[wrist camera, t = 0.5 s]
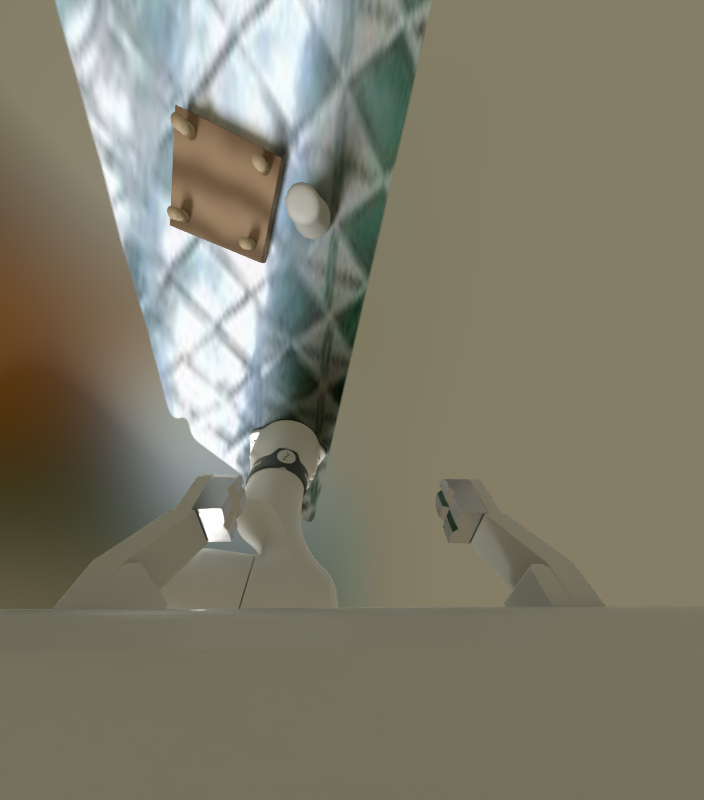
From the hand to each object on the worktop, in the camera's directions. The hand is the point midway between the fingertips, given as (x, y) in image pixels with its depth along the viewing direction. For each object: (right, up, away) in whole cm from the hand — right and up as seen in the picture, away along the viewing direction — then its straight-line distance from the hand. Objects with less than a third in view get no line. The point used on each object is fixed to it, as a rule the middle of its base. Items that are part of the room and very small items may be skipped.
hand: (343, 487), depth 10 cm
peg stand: (-19, +35, +29) cm, 49 cm away
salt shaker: (-6, +33, +31) cm, 46 cm away
